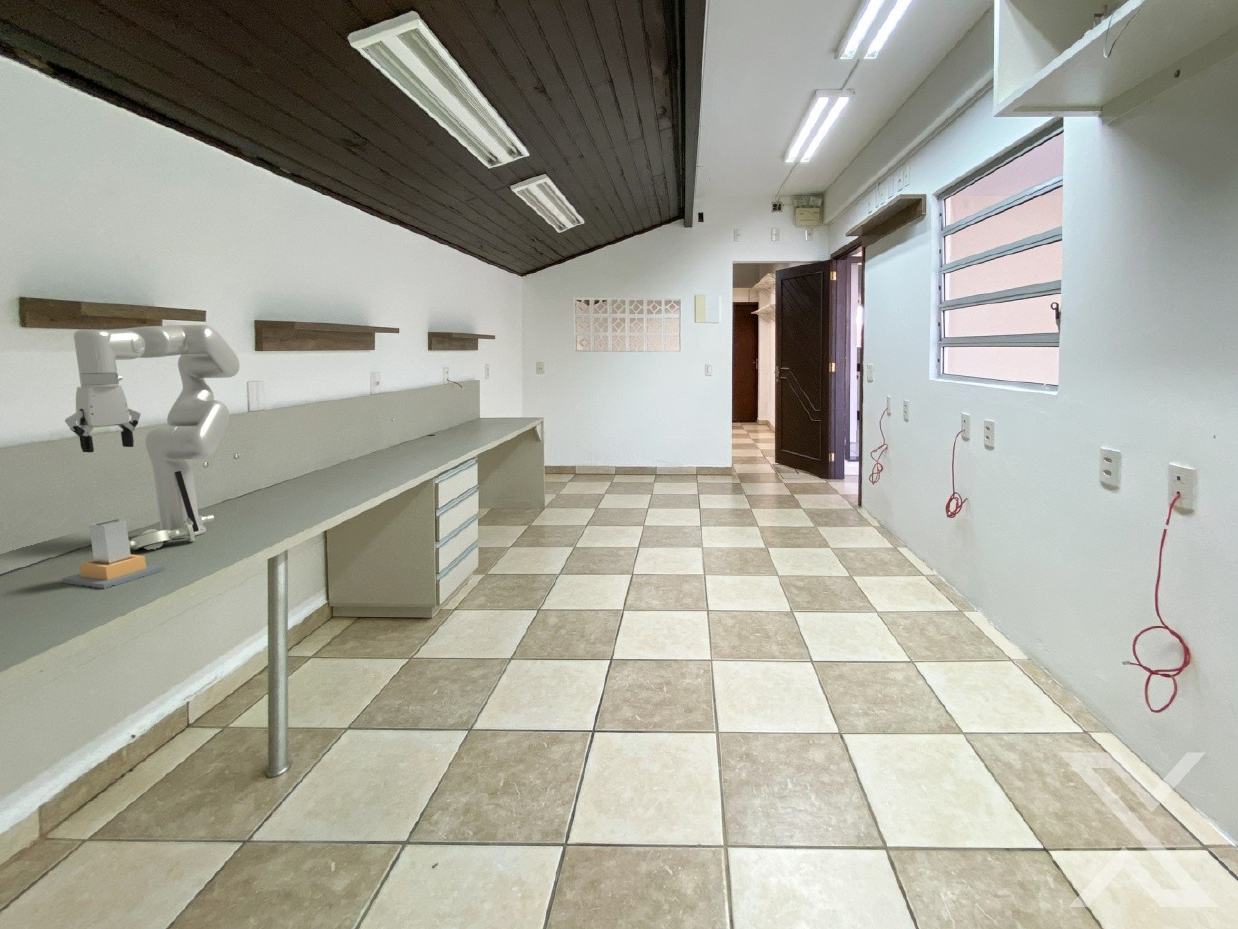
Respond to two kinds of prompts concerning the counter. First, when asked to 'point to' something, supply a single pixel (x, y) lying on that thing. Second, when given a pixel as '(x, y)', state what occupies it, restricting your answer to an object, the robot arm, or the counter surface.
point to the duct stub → (110, 541)
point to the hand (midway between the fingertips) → (108, 449)
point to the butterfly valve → (158, 538)
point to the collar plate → (112, 572)
